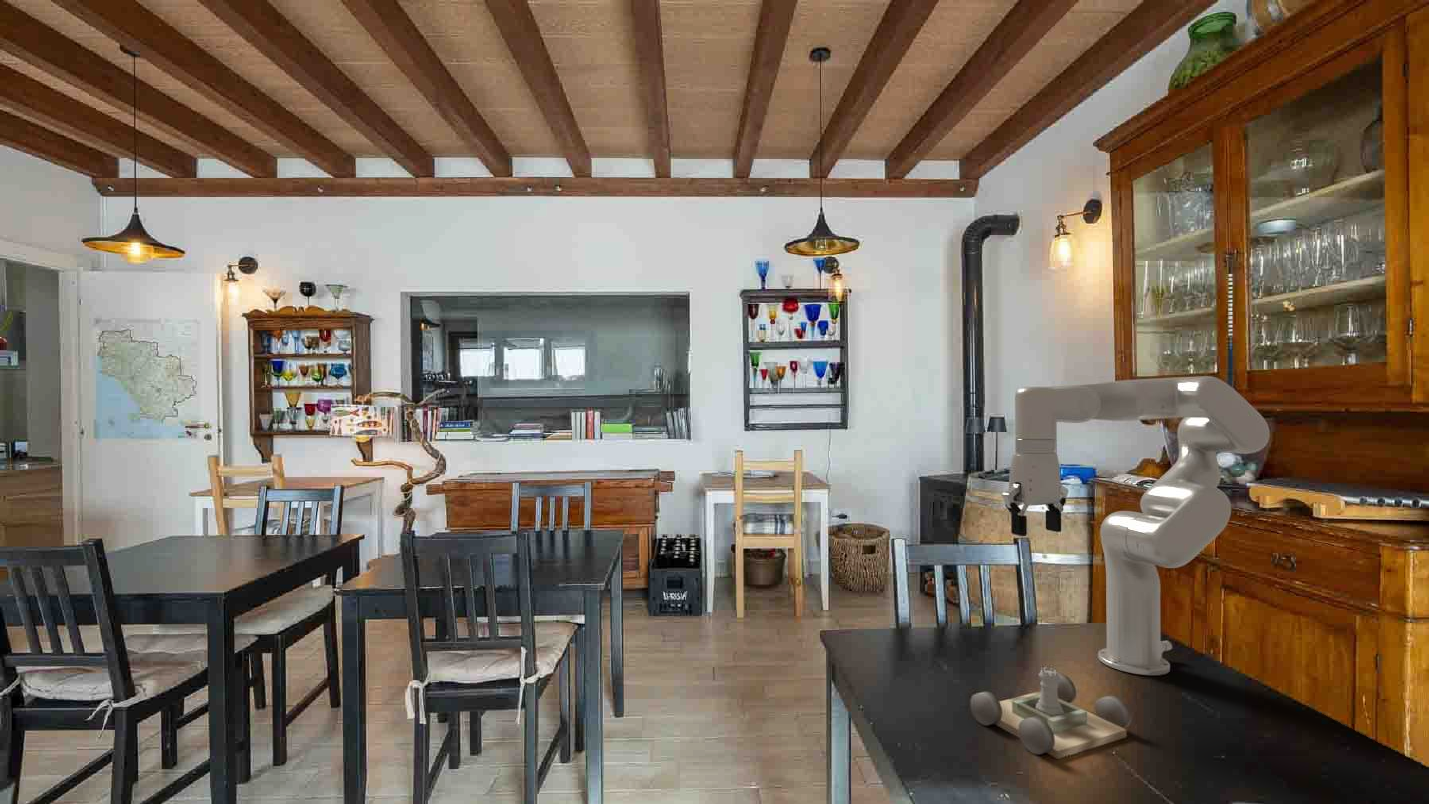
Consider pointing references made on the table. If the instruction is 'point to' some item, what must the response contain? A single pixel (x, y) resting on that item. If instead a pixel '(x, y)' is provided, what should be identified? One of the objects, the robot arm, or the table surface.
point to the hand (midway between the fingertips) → (1036, 532)
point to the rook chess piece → (1049, 693)
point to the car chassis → (1055, 720)
